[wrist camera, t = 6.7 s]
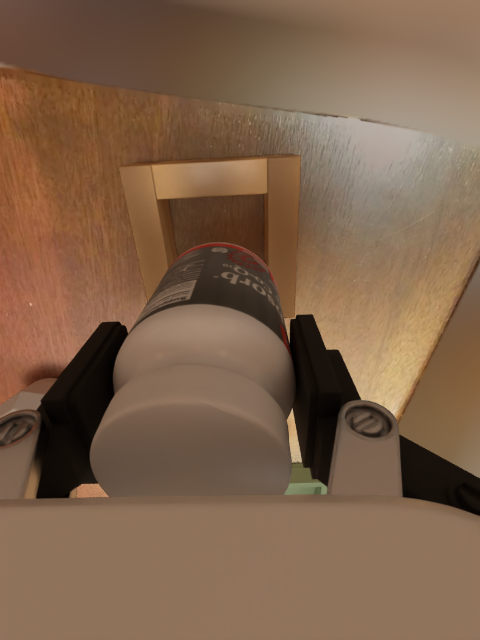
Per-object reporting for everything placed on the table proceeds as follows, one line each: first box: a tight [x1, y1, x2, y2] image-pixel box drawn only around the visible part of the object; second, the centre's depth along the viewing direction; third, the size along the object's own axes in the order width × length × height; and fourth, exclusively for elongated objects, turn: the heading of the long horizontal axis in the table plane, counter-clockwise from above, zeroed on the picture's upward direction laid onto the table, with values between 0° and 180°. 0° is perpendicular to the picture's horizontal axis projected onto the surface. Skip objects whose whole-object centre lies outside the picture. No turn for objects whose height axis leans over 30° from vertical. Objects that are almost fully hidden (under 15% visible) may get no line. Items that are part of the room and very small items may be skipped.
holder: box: [118, 154, 301, 318], centre depth 23 cm, size 11×11×4 cm
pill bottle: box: [90, 242, 296, 497], centre depth 12 cm, size 6×6×10 cm
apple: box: [0, 378, 57, 418], centre depth 29 cm, size 8×8×7 cm
